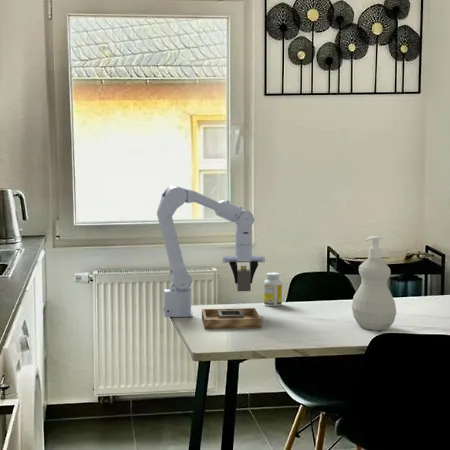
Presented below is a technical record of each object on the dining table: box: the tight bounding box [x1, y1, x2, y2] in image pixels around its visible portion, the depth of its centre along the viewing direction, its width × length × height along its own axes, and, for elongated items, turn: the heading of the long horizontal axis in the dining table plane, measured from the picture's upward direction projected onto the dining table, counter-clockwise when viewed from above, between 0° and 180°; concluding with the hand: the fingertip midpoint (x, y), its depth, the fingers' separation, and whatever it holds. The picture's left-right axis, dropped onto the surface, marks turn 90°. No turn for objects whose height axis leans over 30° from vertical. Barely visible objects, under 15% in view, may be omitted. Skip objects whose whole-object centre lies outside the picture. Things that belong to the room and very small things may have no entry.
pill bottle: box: [263, 271, 283, 307], centre depth 287 cm, size 6×6×12 cm
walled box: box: [201, 307, 262, 330], centre depth 259 cm, size 18×16×3 cm
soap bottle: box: [351, 235, 397, 331], centre depth 252 cm, size 17×12×29 cm
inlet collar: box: [217, 310, 244, 319], centre depth 259 cm, size 8×8×2 cm
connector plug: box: [235, 265, 252, 292], centre depth 274 cm, size 4×4×8 cm
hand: (243, 283), depth 274 cm, fingers closed on connector plug, 4 cm apart
